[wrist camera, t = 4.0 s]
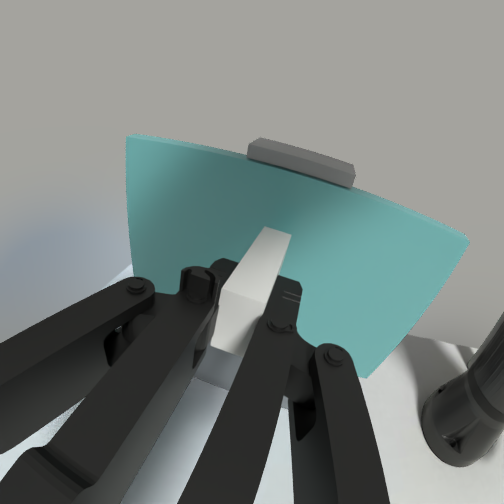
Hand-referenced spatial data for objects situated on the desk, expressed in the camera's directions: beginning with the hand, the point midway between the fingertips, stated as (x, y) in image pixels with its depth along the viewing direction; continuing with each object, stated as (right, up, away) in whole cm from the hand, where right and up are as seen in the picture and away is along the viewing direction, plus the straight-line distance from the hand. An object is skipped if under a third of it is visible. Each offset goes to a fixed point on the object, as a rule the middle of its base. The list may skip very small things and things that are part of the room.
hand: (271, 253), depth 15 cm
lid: (+1, 0, +6) cm, 6 cm away
